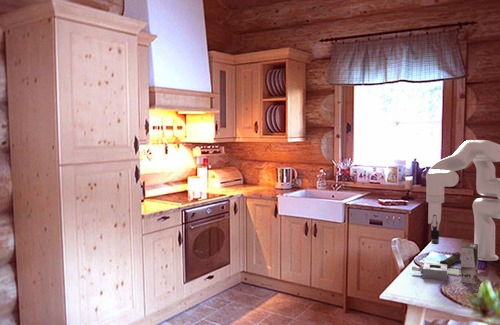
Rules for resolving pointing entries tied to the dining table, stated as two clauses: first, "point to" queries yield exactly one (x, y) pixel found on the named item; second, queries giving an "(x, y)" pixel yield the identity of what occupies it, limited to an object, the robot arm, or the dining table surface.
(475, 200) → the robot arm
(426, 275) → the chuck
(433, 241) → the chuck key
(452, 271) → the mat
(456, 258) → the hand tool
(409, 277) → the dining table surface
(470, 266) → the coffee box
